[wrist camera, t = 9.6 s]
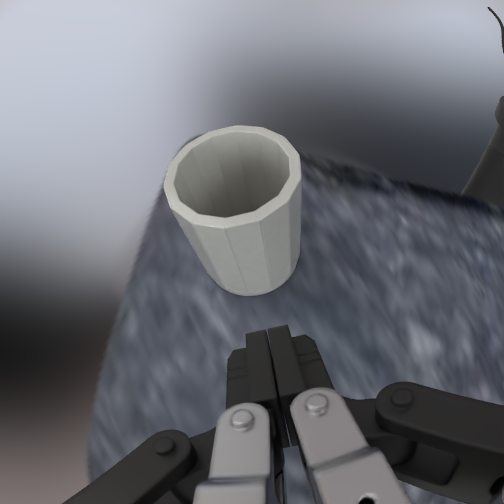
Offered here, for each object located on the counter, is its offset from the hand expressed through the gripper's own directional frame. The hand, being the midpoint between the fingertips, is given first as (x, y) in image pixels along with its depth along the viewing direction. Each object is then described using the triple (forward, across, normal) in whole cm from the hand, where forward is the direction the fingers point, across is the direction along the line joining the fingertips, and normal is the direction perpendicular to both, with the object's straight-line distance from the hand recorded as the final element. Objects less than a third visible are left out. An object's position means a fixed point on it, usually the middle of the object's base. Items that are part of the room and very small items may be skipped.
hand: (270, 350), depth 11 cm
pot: (+10, 0, -1) cm, 10 cm away
